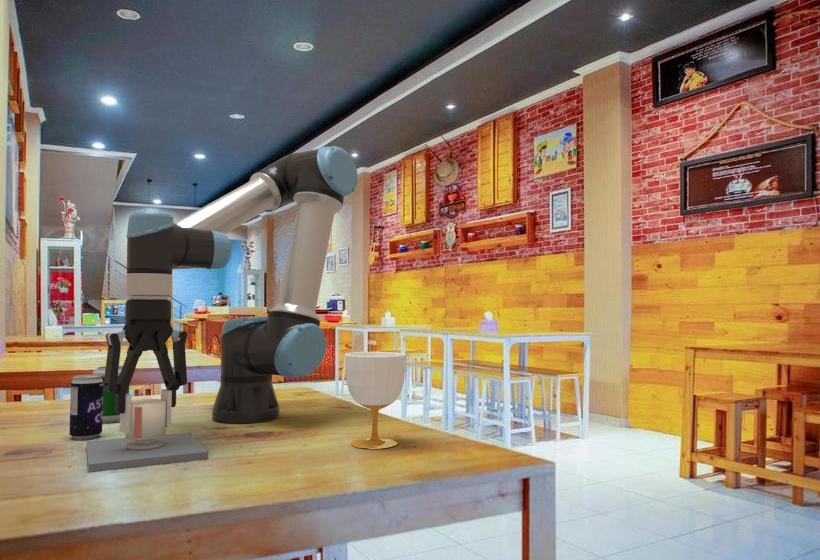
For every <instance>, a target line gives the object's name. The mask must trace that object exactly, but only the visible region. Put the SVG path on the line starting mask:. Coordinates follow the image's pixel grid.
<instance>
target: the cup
mask: <svg viewBox="0 0 820 560" xmlns="http://www.w3.org/2000/svg"><path fill="white" fill-rule="evenodd" d="M406 363H407V354H406V353H404V352H397V351H395V352H394V351H354V352H347V353H345V354H344V369H345V379H346V381H345V382H346V385H347V388H348V389H347V390H348V392H349V394H350V396H351V398H352V400H353V401H355V402H356V404H358V405H360V406H361V407H363V408H365V409H368V410H370V411H371V423H372V424H371V425H372V426H371V436H370V437H369V438H370V440H366V439H365V438H366V437H362V438H358V439H354V440H352V441H351V442H350V444H352V445H353V446H356V447H360V448H377V447H374V446H380V445H382V444H384V443H385V441H382V440H380V439H379V438H380V437H379V431H378V421H379V420H378V419H379V417H378V416H379V411H380V410H382V409H384V408H387V407H388V406H390V405H391V404H393V403H395V401H397V400H398V398H399V396H400V394H401V393H402V390H403V387H404V383H405V376H406V374H405V373H406V369H407V368H406V365H407V364H406ZM363 439H365V440H363ZM398 443H399V442H398ZM398 443H397V444H398ZM397 444H396V445H397ZM352 445H351V446H352ZM398 445H399V444H398ZM398 445H397V446H398ZM353 446H352V447H353ZM393 446H394V445H393ZM356 447H355V448H356ZM360 448H359V449H360Z"/></svg>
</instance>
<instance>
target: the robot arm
mask: <svg viewBox="0 0 820 560" xmlns="http://www.w3.org/2000/svg"><path fill="white" fill-rule="evenodd" d="M358 175H359V174H358V169H357V166H356V164H355V162H354V159H353V158H352V156H351V155H350V154H349V152H348V151H346V150H345V149H344V148H342V147H340V146H335V145H334V146H333V145H332V146H321V147H319V148H316V149H311V150H306V151H301V152H294V153H290V154H288V155H285V156H283V157H281V158H279V159H277V160H276V161H274V162H272V163H271V164H269V165H267V166H266V167H264V168H262V169H261V170H259V171H257V172H255V173H253V174H252V175H251V176H250V178H249V181H248V182H246V183H244V184H243V185H241V186H239V187H237V188H236V189H234V190H231V191H230V192H228V193H226V194H224V195H222V196H220V197H219V198H217V199H215V200H214V201H212V202H210V203H208V204H206V205H204V206H202V207H201V208H199V209H196V210H195V211H193V212H192V213H190V214H188V215H187V216H184V217H183V218H180V219H179V220H177V221H175V222H174V216H173V215H172V214H171V213H169V212H166V211H160V210H159V211H158V210H135V211H133V212H131V213H130V215H128V221H127V222H128V223H127V229H126V230H127V231H126V238H127V239H126V240H127V241H126V242H127V243H126V276H125V278H126V285H125V295H126V296H127V297H129V299H127V300H126V301H125V313H124V314H125V316H124V320H125V321H124V322H125V323H124V327H123V328H122V330H120V331H115V332H107V333H106V334H105V340H106V342H107V343H106V344H107V355H106V361H105V363H106V364H105V366H106V369H105V378H104V386H103V389H104V390H106V391H109V392H113V393H114V394H115V412H116V413H118V414H120V422H119V432H120V433H124V434H126V433H130V430H131V401H132V394H131V393H129V394H127V390H128V387H129V388H130V384H131V382H132V379H133V376H134V373H135V370H136V367H137V365H138V361H139V359H140V357H141V356H142V355H143V352H147V351H152V352H153V354H154V355H155V357H156V361H157V365H158V368H159V370H160V373H161V377H162V380H163V383H164V386H165V388H164V389H161V390H160V399H162V400H166V421H165V429H166V428H168V429H169V428H171V427H172V408H175V407H176V405H177V391H179V389H180V387H182V386H186V385H187V384H188V375H187V374H188V373H187V372H188V371H187V357H186V342H187V337H188V333H187V331H185V330H183V331H182V330H176V329H173V326H172V323H171V322H172V321H171V320H172V301H171V299H169V297H172V296H173V289H172V288H173V270H187V269H188V270H189V269H190V270H191V269H204V270H205V269H206V270H220V269H224V268H225V267H226V266H227V265H228V264H229V262H230V260H231V257H232V242H231V239H230V237H229V236H228V235H227V234H229V233H230V232H233V231H234V230H235V229H237V228H238V227H240V226H241V225H244V224H245V223H246V222H248V221H249V220H252V219H254V218H255V217H257V216H258V215H260V214H261V213H263V212H264V211H266V210H267V211H268V210H269V211H274V210H276V209H278V208H279V207H281V206H283V205H287V204H290V203H295V204H296V205H297V209H296V214H295V220H294V222H293V223H294V225H293V228H292V229H293V230H292V234H291V238H290V243H289V248H288V252H287V256H286V257H287V258H286V261H285V266H284V272H283V276H282V280H281V284H280V285H281V286H280V291H279V294H278V300H277V304H276V305H275V306H274V307H272V308H271V309H269V310H268V312H267V316H248V317H246V316H245V317H237V318H232V319H228V320H226V321H225V322H223V324H222V326H221V333H220V334H221V335H220V343H221V344H220V385H219V386H220V387H219V388H218V392H217V395H216V397H215V400H214V402H213V406H212V409H211V416H212V417H211V420H212V421H215V422H218V423H226V424H227V423H230V424H248V423H249V424H250V423H252V424H253V423H259V422H262V423H263V422H267V421H272V420H275V419H278V418H279V417H280V404H279V401H278V398H277V394H276V391H275V388H274V386H273V376H277V377H278V376H281V377H285V378H302V377H308V376H309V375H312V373H313V372H315V371H316V370H317V369H318V368H319V367H320V366H321V365H322V362H323V361H324V358H325V357H326V352H327V339H326V338H325V332H324V331H323V329H322V328H321V327H320V325H321V319H320V317H319V315H317V312H316V309H317V305H318V300H319V295H320V289H321V284H322V281H323V274H324V271H325V270H324V269H325V263H326V258H327V254H328V249H329V243H330V239H331V233H332V228H333V224H334V223H333V222H334V219H335V218H334V217H335V214H337V213H338V212H340V211H341V210H343V205H344V200H345V197H347V196H349V195H351V194H352V193H354V192H355V190H356V189H357V186H358V181H359V180H358V178H359V177H358ZM124 338H125V340H126V341H127V342H128V343H129V345H128V348H127V351H126V357H125V360H124V362H123V365H122V366H123V367H122V370H121V373H120V375H119V378H118V381H117V377H118V369H119V366H120V360H121V359H120V358H121V349H122V344H123V342H124ZM169 339H171V341H172V357H173V366H172V363H171V360H170V356H169V349H168V346H167V341H169Z"/></svg>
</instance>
